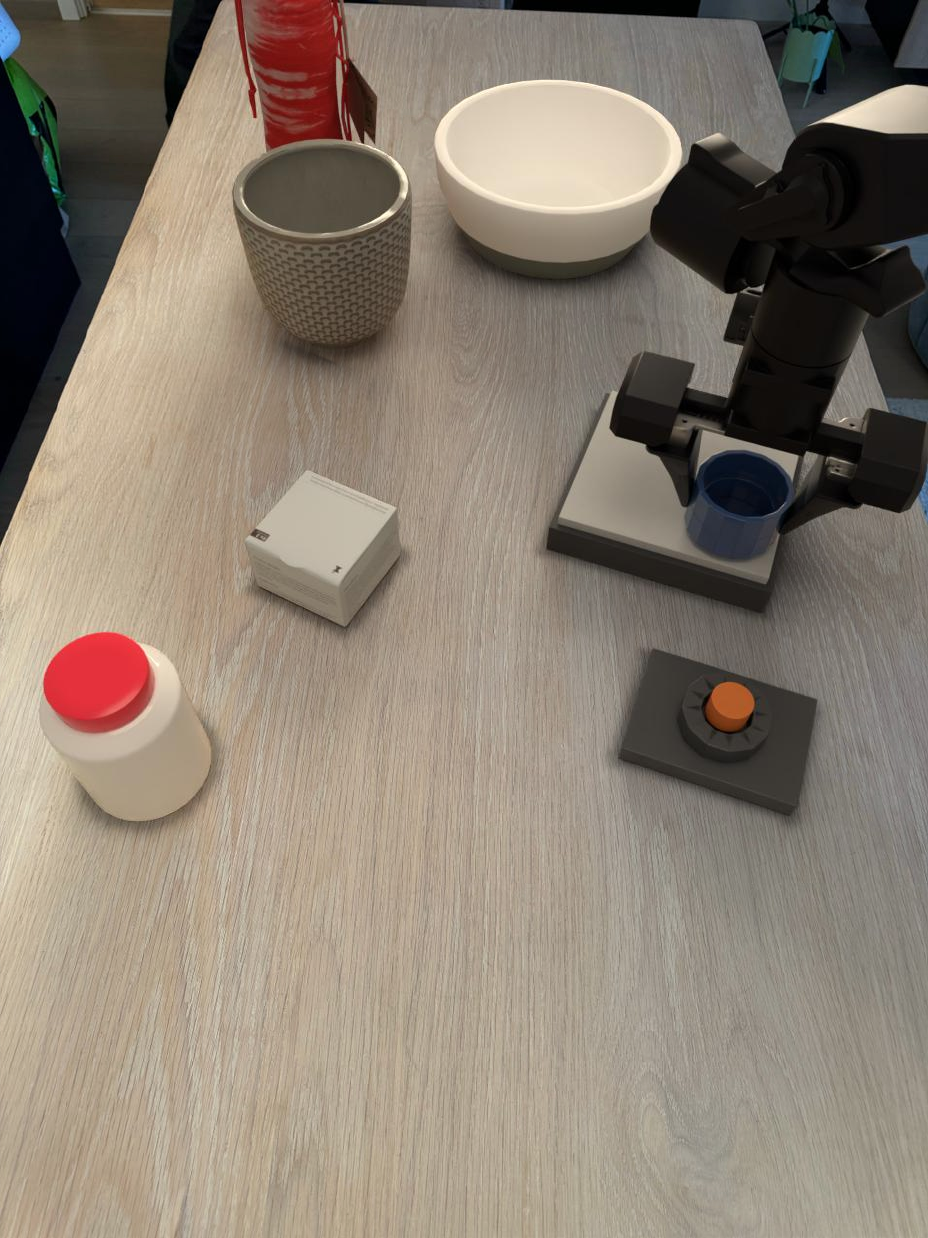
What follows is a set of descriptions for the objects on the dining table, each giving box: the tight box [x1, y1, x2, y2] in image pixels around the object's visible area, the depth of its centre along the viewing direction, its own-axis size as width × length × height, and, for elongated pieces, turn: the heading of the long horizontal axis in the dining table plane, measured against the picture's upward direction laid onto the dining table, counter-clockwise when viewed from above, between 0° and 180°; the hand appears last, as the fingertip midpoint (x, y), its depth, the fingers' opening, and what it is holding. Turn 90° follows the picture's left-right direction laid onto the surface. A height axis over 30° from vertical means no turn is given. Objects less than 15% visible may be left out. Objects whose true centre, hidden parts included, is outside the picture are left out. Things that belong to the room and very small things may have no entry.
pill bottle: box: [38, 631, 213, 822], centre depth 55 cm, size 8×8×11 cm
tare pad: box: [618, 647, 818, 816], centre depth 60 cm, size 11×8×3 cm
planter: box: [231, 139, 413, 350], centre depth 78 cm, size 14×14×13 cm
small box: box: [243, 469, 402, 628], centre depth 66 cm, size 8×8×5 cm
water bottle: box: [233, 0, 378, 152], centre depth 83 cm, size 12×8×25 cm, turn 84°
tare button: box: [705, 682, 754, 732], centre depth 58 cm, size 3×3×2 cm
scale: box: [545, 390, 805, 614], centre depth 71 cm, size 16×15×3 cm
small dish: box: [684, 450, 796, 559], centre depth 65 cm, size 6×6×4 cm
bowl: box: [433, 79, 684, 280], centre depth 89 cm, size 22×22×8 cm
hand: (733, 516), depth 66 cm, fingers closed on small dish, 6 cm apart
